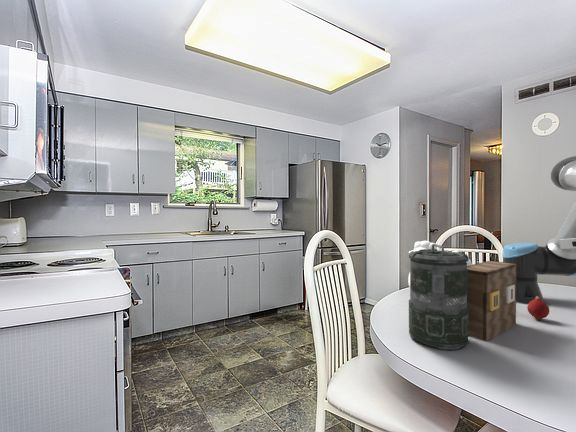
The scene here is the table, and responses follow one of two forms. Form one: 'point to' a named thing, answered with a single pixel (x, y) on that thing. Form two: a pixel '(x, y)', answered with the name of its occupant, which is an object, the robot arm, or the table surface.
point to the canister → (438, 298)
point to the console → (478, 298)
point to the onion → (538, 308)
